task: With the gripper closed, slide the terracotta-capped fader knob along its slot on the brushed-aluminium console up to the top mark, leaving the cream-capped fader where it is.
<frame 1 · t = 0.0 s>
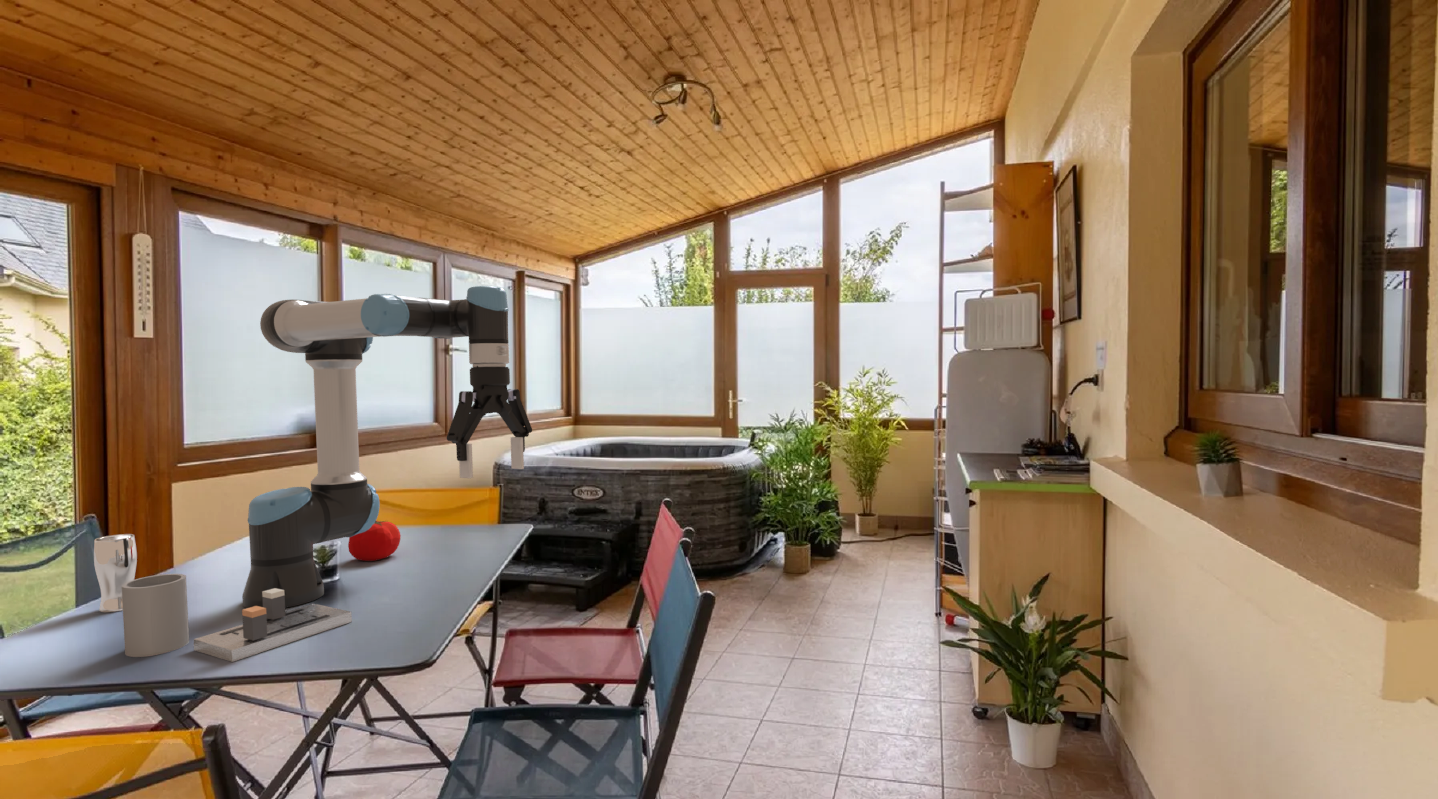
hand: (493, 473, 146), 28 cm above the table, fingers open, 13 cm apart
console: (276, 635, 137), on the table
fader near: (254, 623, 130), point 5 cm above the table, slide at -6.0 cm
cup: (157, 648, 132), on the table
fader far: (273, 603, 141), point 5 cm above the table, slide at 2.0 cm
tomato: (376, 559, 194), on the table
beer glass: (118, 608, 156), on the table
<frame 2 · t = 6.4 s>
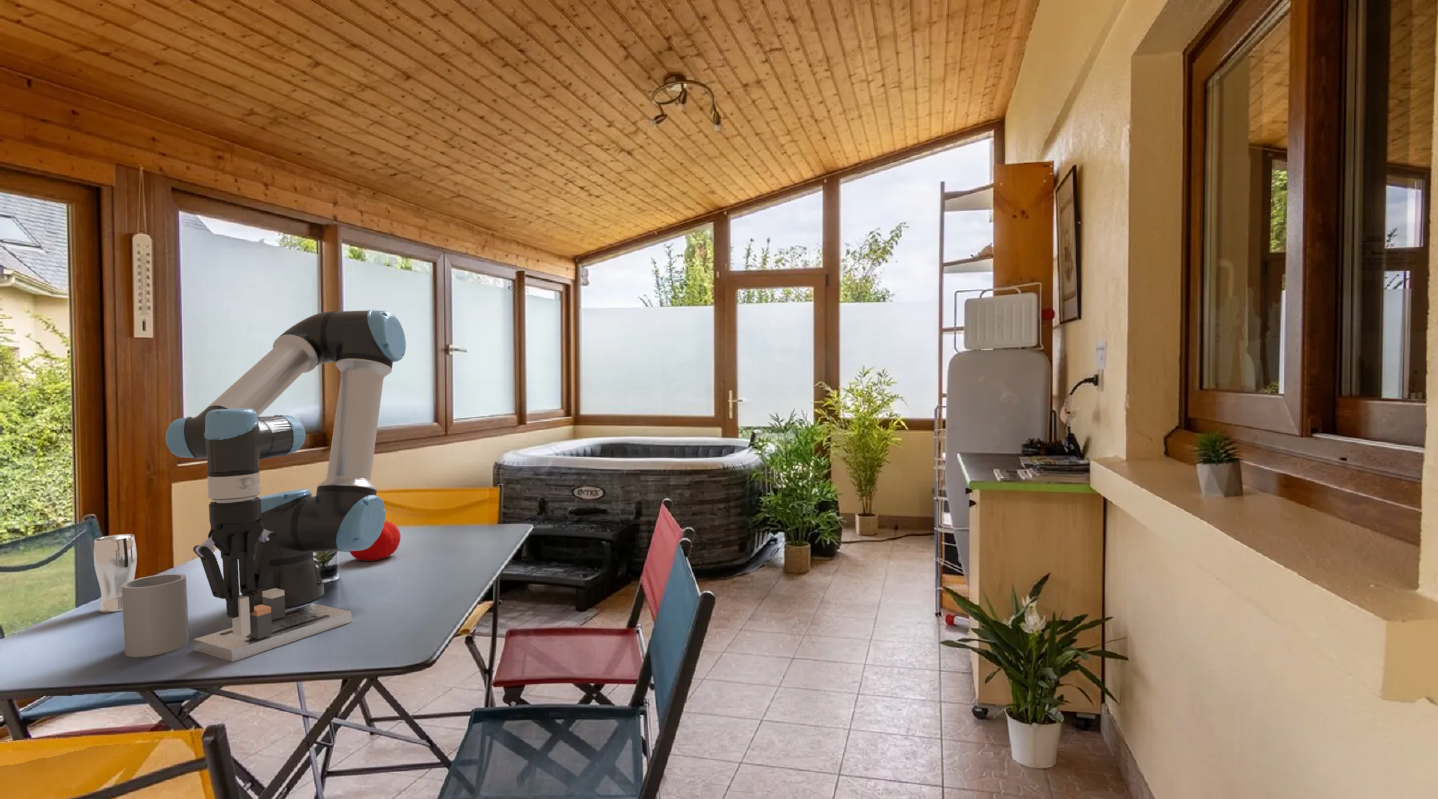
hand: (241, 633, 128), 4 cm above the table, fingers closed
fader near: (259, 621, 131), point 5 cm above the table, slide at -5.1 cm, touching gripper
everything else where it was.
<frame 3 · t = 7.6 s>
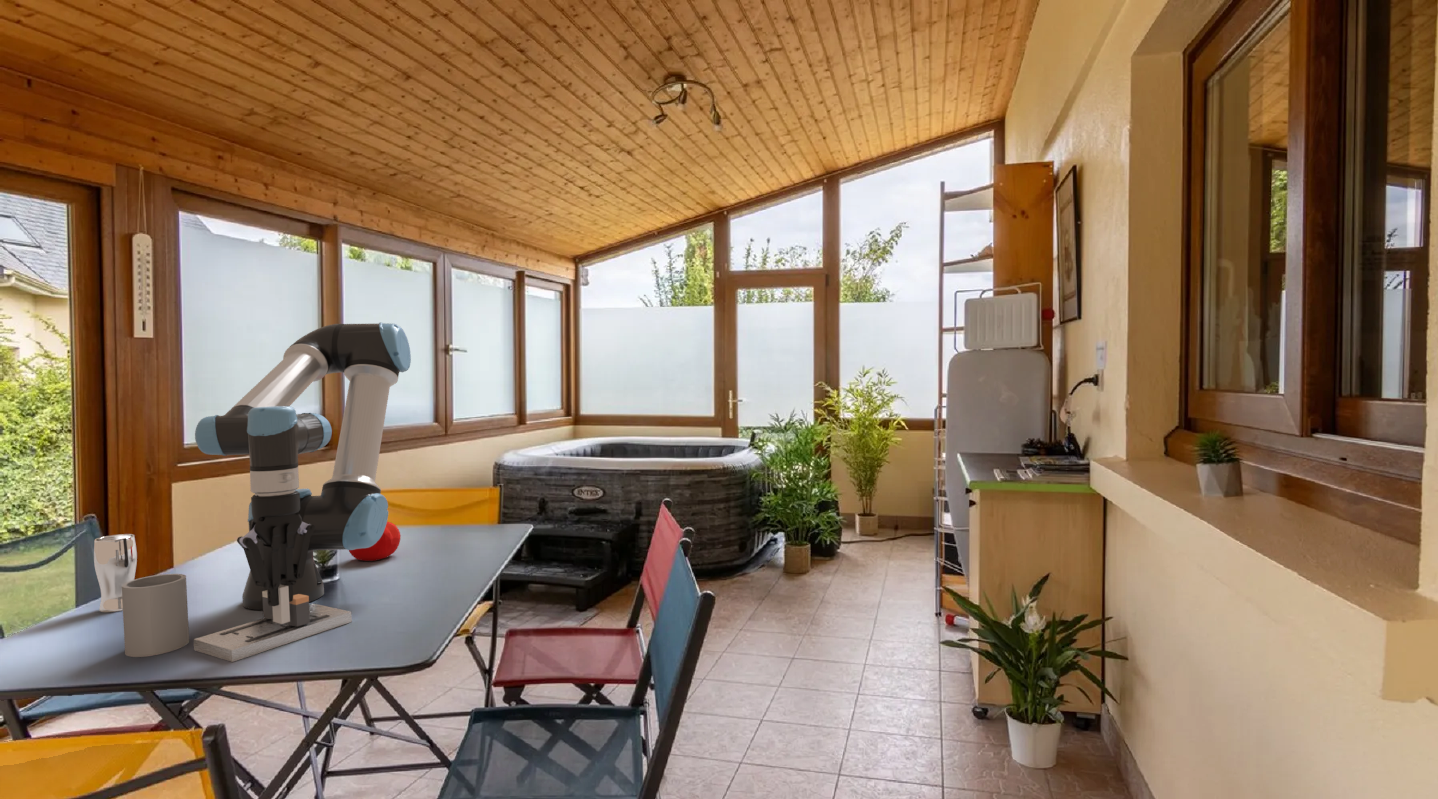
hand: (281, 621, 134), 4 cm above the table, fingers closed
fader near: (298, 610, 137), point 5 cm above the table, slide at 1.8 cm, touching gripper
everything else where it was.
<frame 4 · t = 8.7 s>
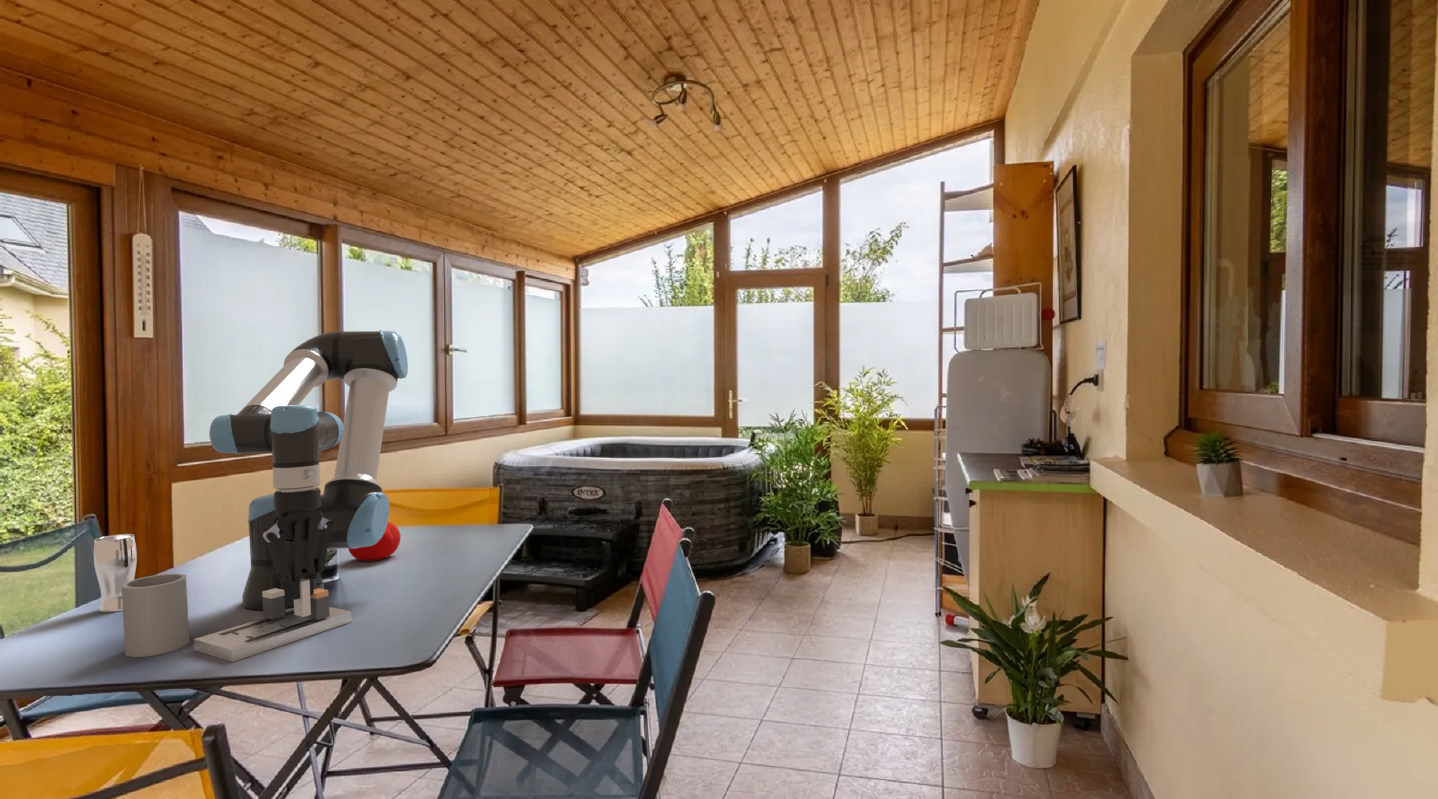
hand: (302, 614, 137), 4 cm above the table, fingers closed
fader near: (318, 604, 140), point 5 cm above the table, slide at 5.6 cm, touching gripper
everything else where it was.
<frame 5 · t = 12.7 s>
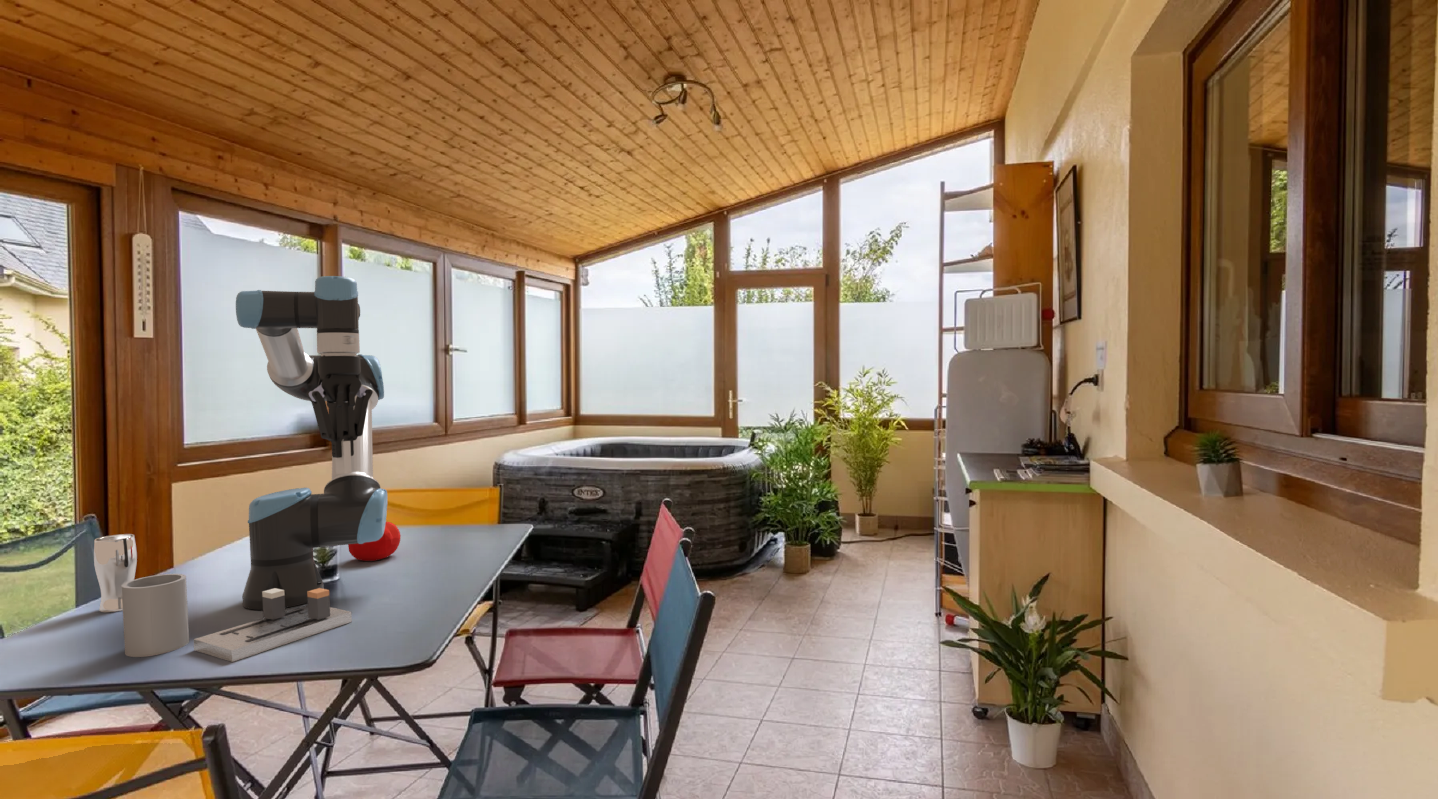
hand: (343, 473, 148), 28 cm above the table, fingers closed
fader near: (318, 603, 140), point 5 cm above the table, slide at 5.8 cm
everything else where it was.
at the end: fader near slide at 5.8 cm; fader far slide at 2.0 cm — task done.
